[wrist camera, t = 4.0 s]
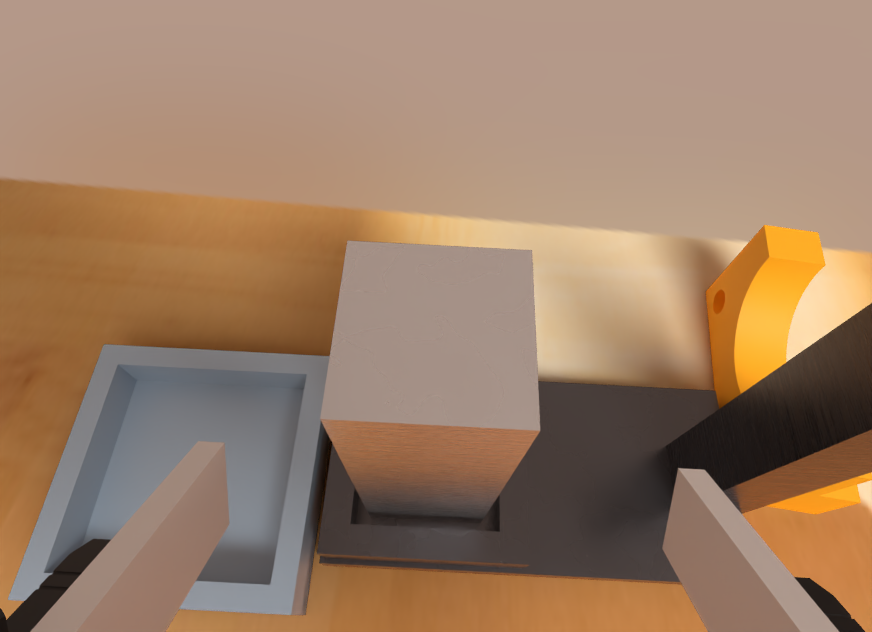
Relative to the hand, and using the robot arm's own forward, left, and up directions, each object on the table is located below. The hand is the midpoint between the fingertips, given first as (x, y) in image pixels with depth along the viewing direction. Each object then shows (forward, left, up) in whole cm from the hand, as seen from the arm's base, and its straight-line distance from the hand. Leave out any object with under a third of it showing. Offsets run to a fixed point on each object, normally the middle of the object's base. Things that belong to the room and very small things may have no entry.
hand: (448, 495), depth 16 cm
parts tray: (-11, +2, -11) cm, 16 cm away
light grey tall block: (-1, +3, -10) cm, 10 cm away
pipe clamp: (+17, +8, -11) cm, 22 cm away
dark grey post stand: (+4, +3, -11) cm, 12 cm away
